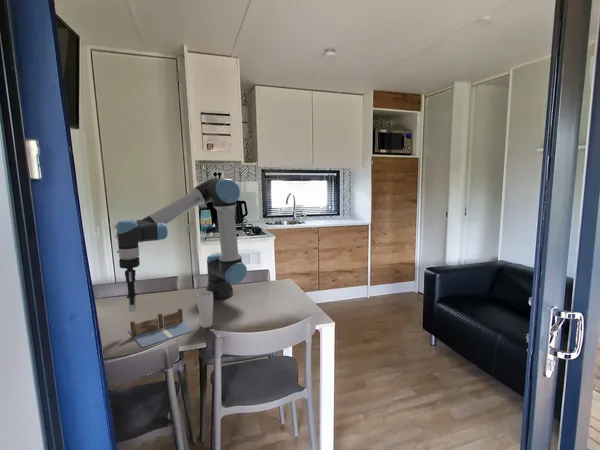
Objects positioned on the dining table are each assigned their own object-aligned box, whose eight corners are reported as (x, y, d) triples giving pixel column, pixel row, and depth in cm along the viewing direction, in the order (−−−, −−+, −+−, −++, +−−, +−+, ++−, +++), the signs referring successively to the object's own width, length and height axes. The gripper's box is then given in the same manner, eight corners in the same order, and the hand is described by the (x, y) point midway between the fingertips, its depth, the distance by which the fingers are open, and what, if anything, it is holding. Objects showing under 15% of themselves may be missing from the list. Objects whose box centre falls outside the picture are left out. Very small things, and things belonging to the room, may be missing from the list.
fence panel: (162, 325, 147) (161, 313, 146) (163, 327, 145) (163, 314, 144) (130, 335, 138) (129, 321, 137) (131, 336, 137) (130, 323, 136)
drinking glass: (200, 322, 151) (198, 291, 149) (215, 321, 151) (214, 290, 149) (197, 329, 144) (195, 296, 142) (213, 328, 145) (211, 295, 142)
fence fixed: (163, 325, 147) (162, 313, 146) (182, 320, 152) (181, 308, 151) (165, 327, 146) (164, 314, 145) (183, 321, 151) (182, 309, 150)
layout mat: (128, 330, 143) (128, 330, 143) (176, 316, 157) (176, 316, 157) (142, 347, 129) (141, 347, 129) (193, 330, 143) (193, 330, 143)
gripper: (119, 255, 143) (123, 307, 146) (118, 262, 131) (122, 318, 134) (138, 253, 146) (142, 304, 149) (139, 260, 134) (143, 315, 138)
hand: (132, 311), depth 142 cm, fingers closed
